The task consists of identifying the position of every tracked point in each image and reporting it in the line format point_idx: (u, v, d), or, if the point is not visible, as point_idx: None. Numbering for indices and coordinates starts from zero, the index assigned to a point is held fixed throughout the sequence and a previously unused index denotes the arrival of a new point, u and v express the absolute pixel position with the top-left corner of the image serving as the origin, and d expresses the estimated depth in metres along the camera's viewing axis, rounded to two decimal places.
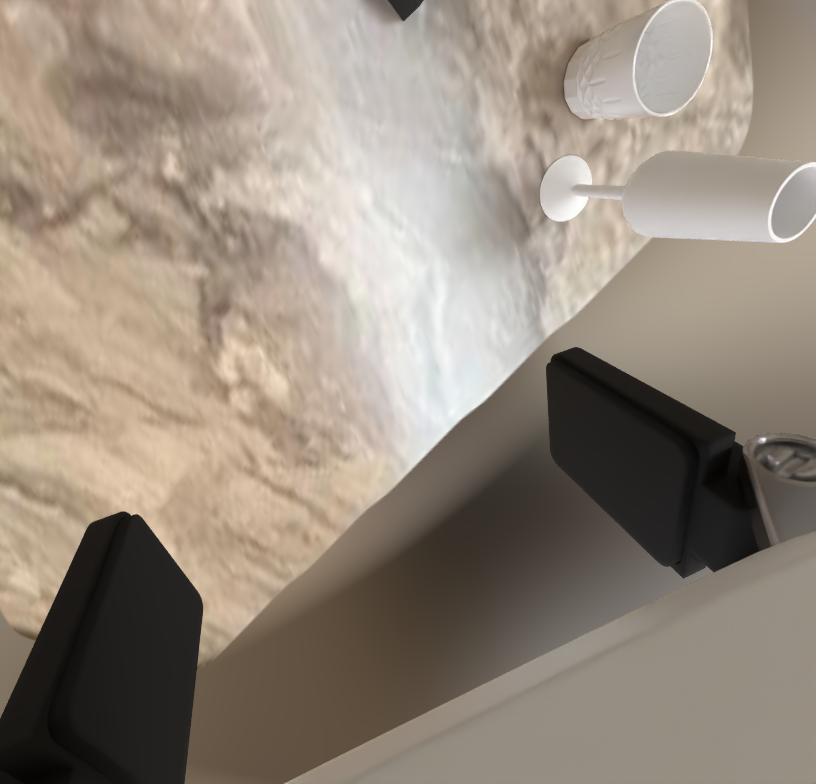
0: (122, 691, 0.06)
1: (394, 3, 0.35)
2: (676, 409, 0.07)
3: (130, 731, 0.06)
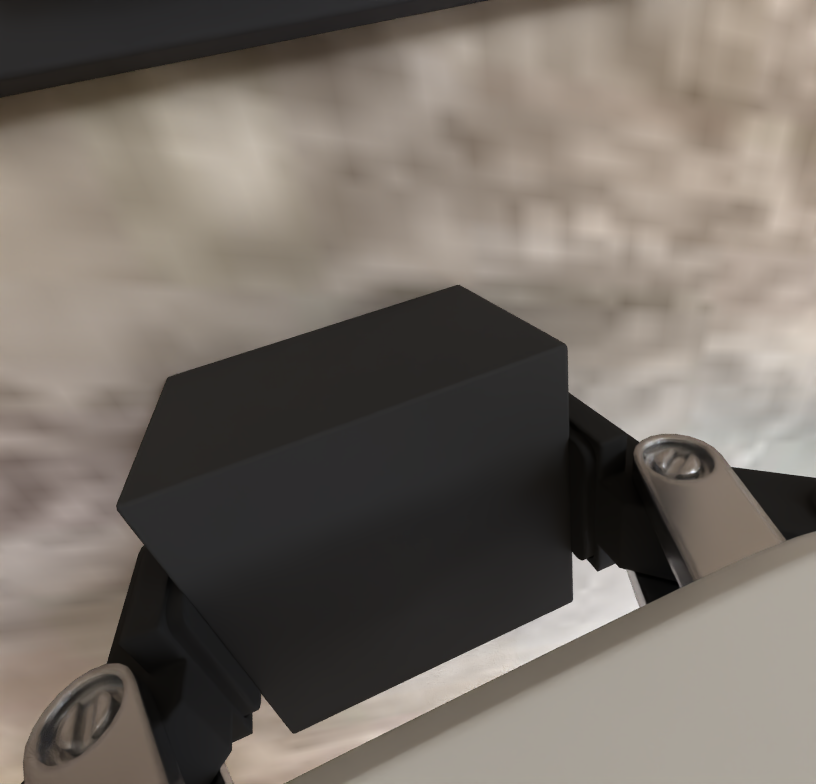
0: None
1: None
2: (581, 412, 0.08)
3: None
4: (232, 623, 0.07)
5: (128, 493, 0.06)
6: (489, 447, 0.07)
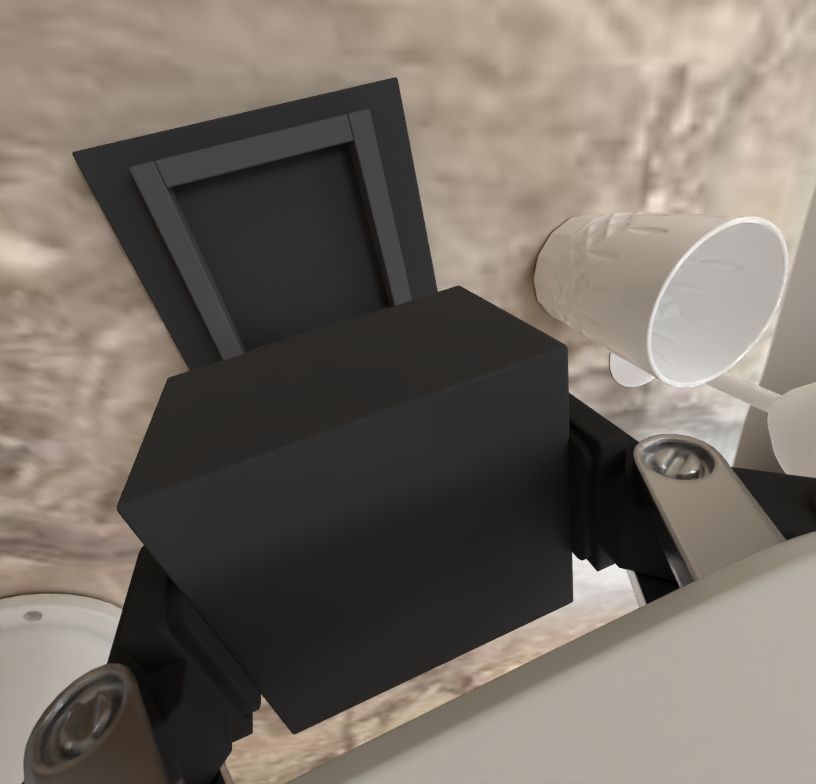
0: None
1: None
2: (581, 412, 0.08)
3: None
4: (232, 624, 0.07)
5: (128, 494, 0.06)
6: (489, 448, 0.07)
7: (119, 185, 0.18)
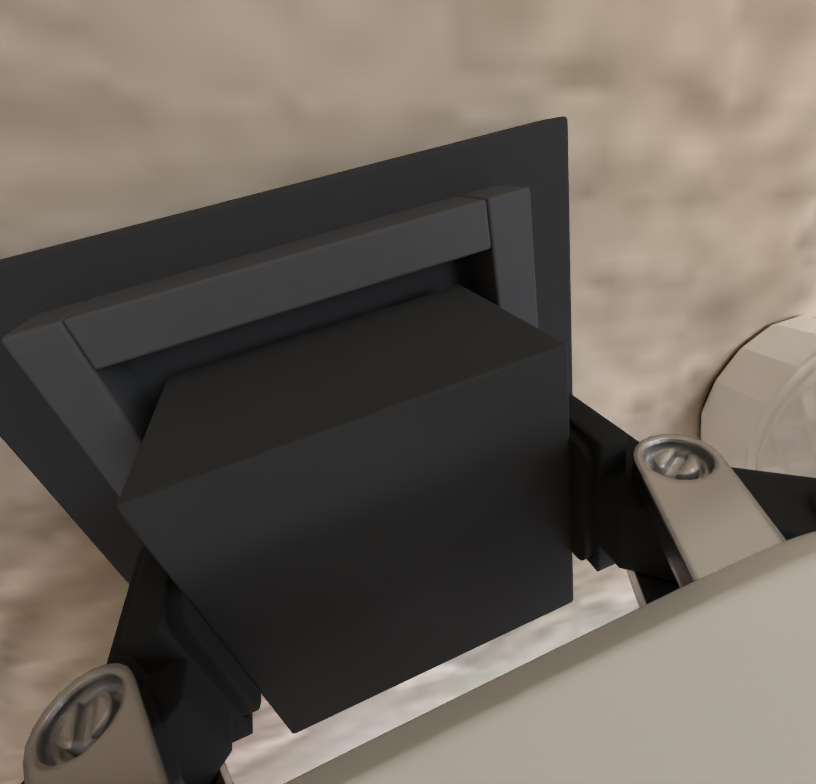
0: None
1: None
2: (581, 412, 0.08)
3: None
4: (232, 623, 0.07)
5: (128, 493, 0.06)
6: (489, 447, 0.07)
7: None
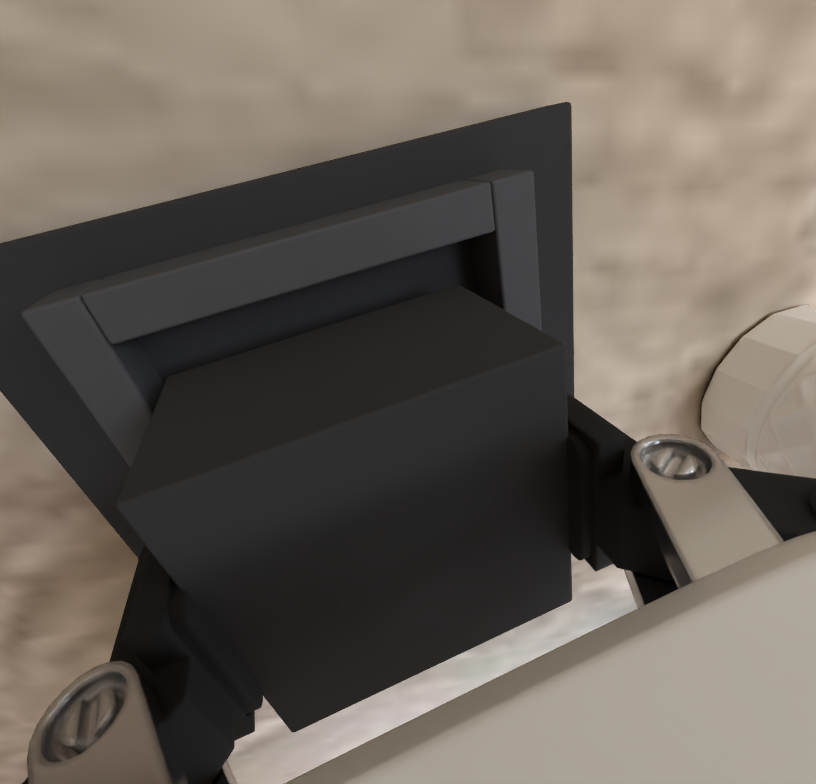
0: None
1: None
2: (579, 412, 0.08)
3: None
4: (231, 621, 0.07)
5: (128, 492, 0.06)
6: (488, 446, 0.07)
7: (17, 327, 0.09)
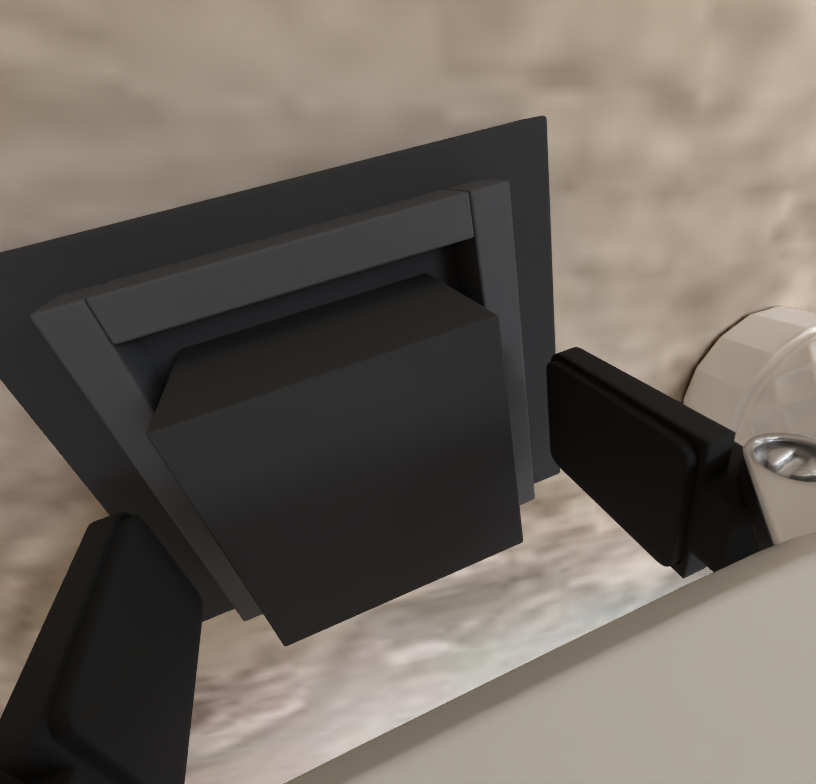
0: (122, 691, 0.06)
1: None
2: (676, 409, 0.07)
3: (130, 731, 0.06)
4: (234, 539, 0.08)
5: (155, 425, 0.07)
6: (439, 399, 0.09)
7: (25, 329, 0.09)
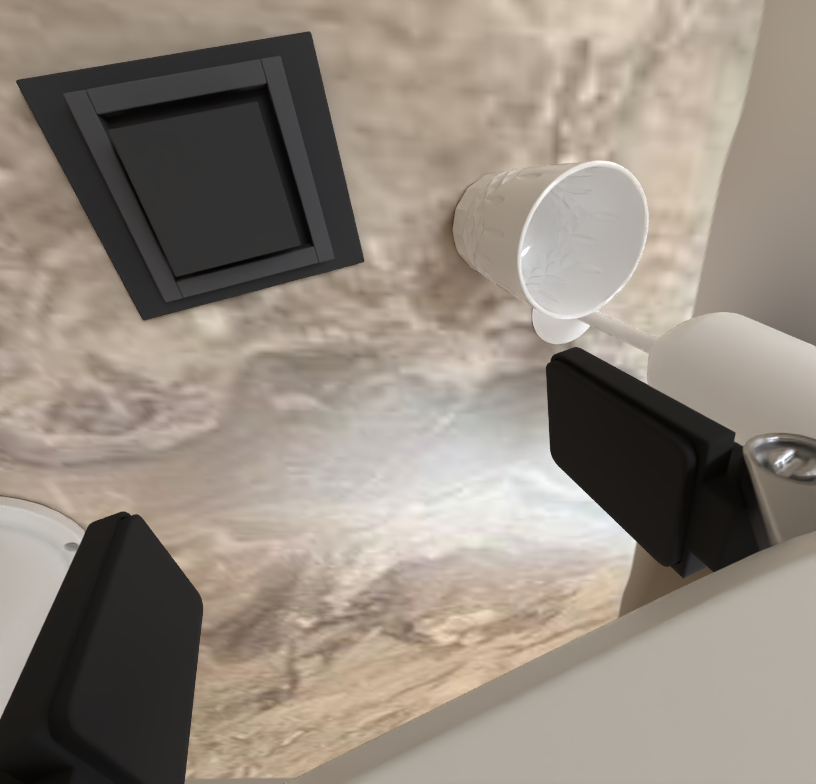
0: (122, 691, 0.06)
1: None
2: (676, 409, 0.07)
3: (130, 731, 0.06)
4: (146, 196, 0.20)
5: (111, 129, 0.19)
6: (235, 140, 0.20)
7: (58, 113, 0.21)
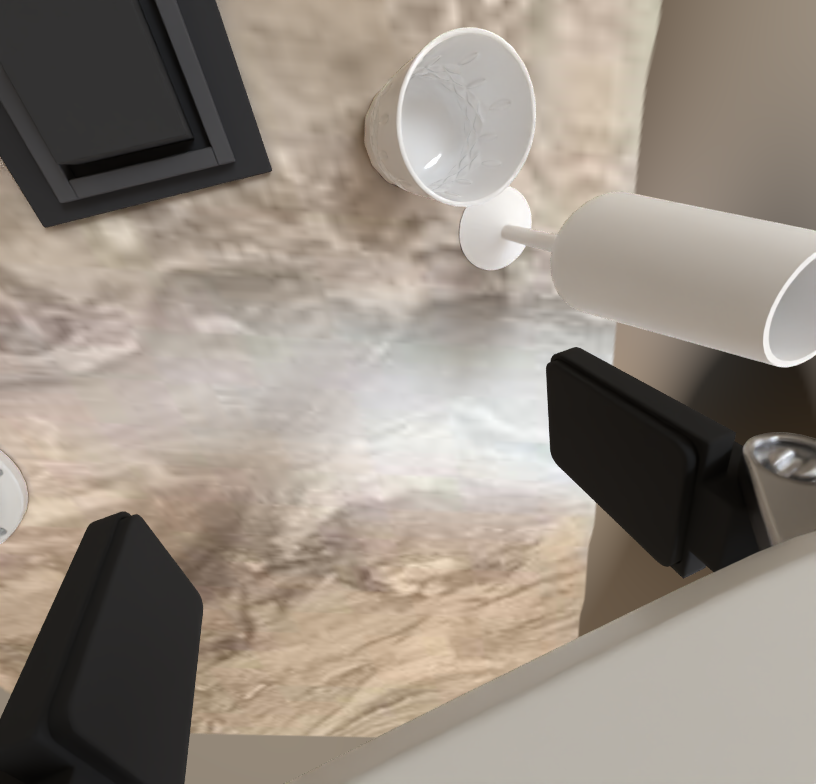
0: (122, 691, 0.06)
1: (170, 144, 0.26)
2: (676, 409, 0.07)
3: (130, 731, 0.06)
4: (14, 73, 0.20)
5: None
6: (102, 14, 0.20)
7: None
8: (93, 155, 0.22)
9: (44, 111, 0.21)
